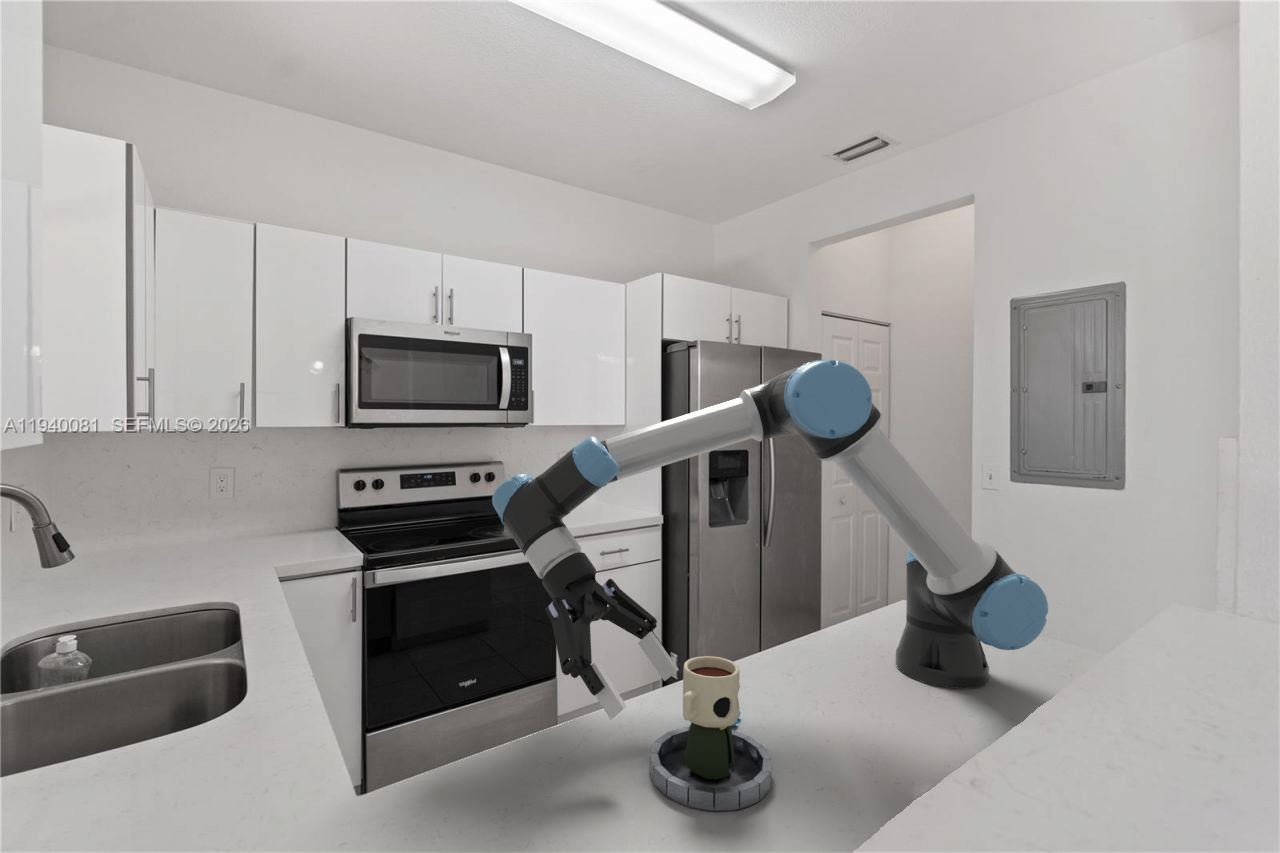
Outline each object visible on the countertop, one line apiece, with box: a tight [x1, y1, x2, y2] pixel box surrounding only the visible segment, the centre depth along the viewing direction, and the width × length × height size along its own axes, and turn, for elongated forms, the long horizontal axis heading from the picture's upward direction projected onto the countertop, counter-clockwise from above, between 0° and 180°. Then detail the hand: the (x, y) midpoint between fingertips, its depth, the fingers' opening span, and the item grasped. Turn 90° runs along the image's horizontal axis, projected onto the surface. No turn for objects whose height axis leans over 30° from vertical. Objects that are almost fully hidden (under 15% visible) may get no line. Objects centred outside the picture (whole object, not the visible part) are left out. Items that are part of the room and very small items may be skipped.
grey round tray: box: [648, 726, 773, 813], centre depth 75 cm, size 15×15×2 cm
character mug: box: [682, 655, 741, 779], centre depth 75 cm, size 11×7×13 cm, turn 138°
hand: (647, 693), depth 80 cm, fingers open, 13 cm apart
